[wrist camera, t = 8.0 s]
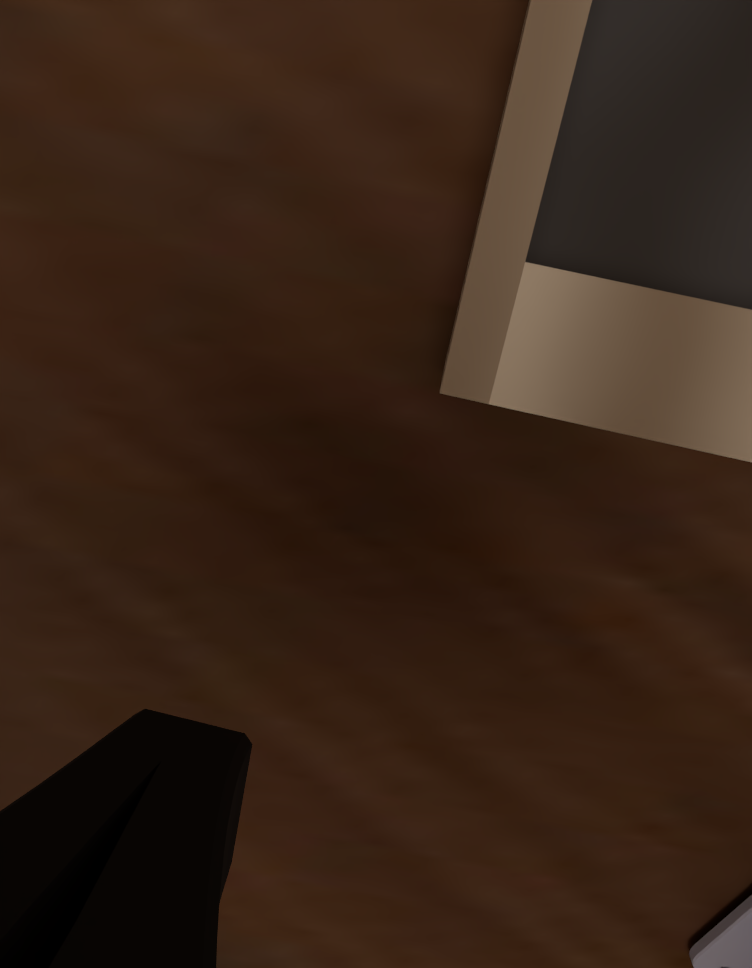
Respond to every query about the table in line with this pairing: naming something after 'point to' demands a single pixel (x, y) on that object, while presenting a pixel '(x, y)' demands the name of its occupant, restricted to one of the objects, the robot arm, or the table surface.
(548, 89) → the trap deck
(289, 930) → the table surface
